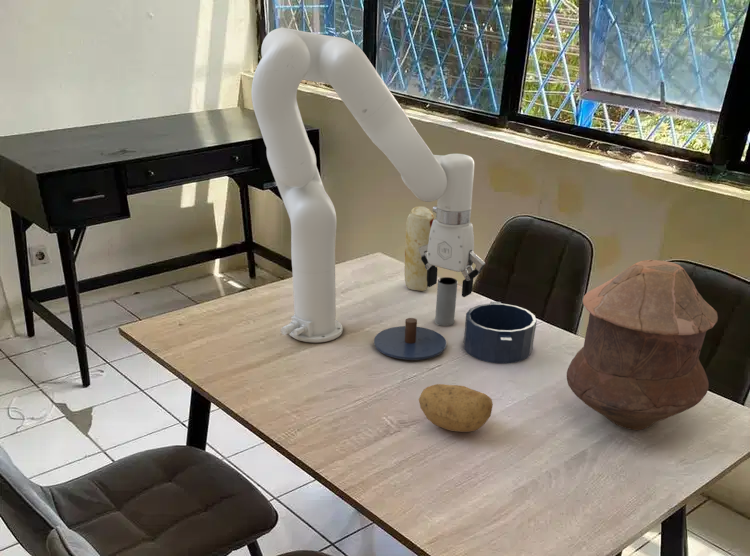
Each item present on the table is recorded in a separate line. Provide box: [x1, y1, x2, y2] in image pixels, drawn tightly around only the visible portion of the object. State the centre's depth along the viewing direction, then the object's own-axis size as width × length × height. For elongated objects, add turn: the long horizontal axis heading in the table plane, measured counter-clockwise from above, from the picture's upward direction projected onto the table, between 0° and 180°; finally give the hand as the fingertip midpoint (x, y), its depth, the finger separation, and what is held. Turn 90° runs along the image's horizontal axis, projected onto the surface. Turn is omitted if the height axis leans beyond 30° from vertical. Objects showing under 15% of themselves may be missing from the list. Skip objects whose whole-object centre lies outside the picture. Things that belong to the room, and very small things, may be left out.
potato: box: [418, 383, 494, 433], centre depth 144 cm, size 10×14×8 cm
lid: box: [373, 317, 447, 361], centre depth 173 cm, size 16×16×6 cm
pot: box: [463, 301, 537, 365], centre depth 172 cm, size 15×21×8 cm
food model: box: [404, 205, 435, 292], centre depth 197 cm, size 10×7×20 cm
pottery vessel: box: [566, 259, 719, 431], centre depth 142 cm, size 26×26×30 cm
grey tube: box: [434, 276, 459, 327], centre depth 182 cm, size 4×4×10 cm
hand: (448, 290), depth 181 cm, fingers open, 9 cm apart
